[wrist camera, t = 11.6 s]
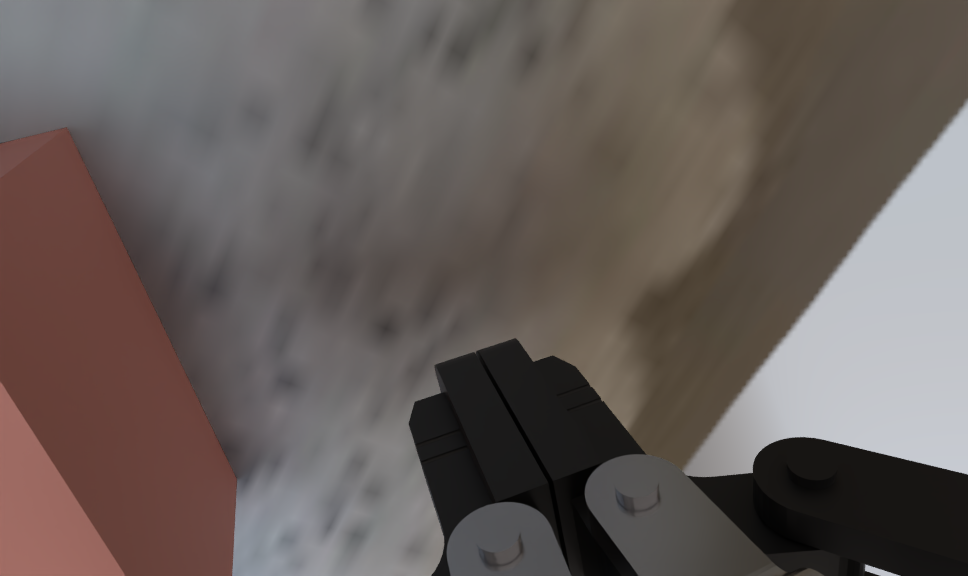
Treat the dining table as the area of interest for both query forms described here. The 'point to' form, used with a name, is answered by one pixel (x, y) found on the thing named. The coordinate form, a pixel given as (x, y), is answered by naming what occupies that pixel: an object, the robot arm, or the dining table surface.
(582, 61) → the dining table surface
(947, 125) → the dining table surface
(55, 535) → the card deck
